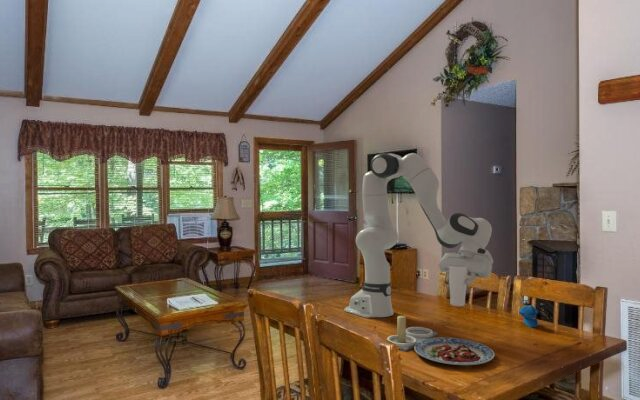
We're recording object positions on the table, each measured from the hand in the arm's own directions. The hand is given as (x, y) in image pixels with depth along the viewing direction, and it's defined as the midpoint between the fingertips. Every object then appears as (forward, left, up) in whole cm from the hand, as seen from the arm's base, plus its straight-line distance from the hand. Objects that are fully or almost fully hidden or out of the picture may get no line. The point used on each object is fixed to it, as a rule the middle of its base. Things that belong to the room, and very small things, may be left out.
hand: (457, 282), depth 177 cm
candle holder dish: (-11, -15, -20) cm, 28 cm away
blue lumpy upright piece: (+17, +32, -21) cm, 42 cm away
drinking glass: (0, +1, -9) cm, 9 cm away
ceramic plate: (+8, -21, -21) cm, 30 cm away
